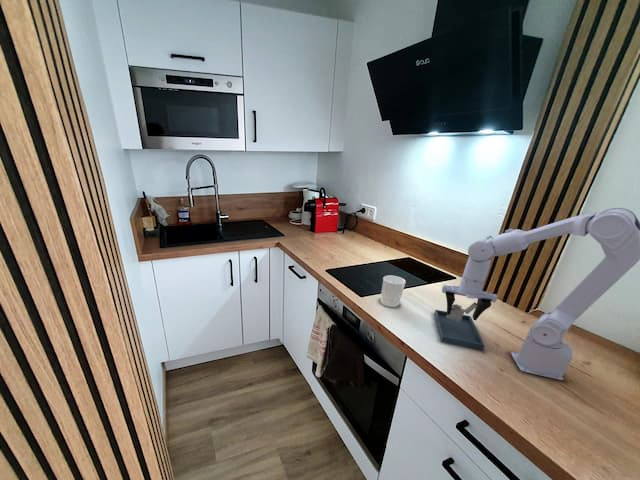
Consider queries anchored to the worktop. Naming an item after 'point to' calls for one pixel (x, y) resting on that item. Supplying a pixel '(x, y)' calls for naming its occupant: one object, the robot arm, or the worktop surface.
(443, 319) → the tray
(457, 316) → the lighter
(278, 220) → the worktop surface
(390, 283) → the white cup
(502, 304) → the worktop surface
